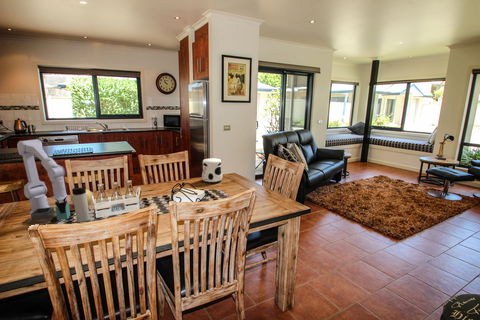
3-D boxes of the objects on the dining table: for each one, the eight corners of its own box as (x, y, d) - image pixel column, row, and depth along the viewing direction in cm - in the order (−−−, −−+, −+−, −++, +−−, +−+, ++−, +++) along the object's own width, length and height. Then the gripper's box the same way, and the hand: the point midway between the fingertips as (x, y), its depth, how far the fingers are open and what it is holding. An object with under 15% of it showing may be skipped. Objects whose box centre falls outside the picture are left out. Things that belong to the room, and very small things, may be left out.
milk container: (198, 180, 216) (197, 160, 212) (214, 176, 228) (214, 157, 224) (210, 185, 204) (209, 163, 200) (226, 181, 216) (226, 160, 211)
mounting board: (37, 214, 151) (37, 212, 151) (59, 212, 154) (58, 210, 154) (26, 224, 139) (26, 222, 139) (50, 221, 142) (50, 219, 142)
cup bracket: (37, 213, 150) (36, 208, 149) (56, 211, 152) (55, 206, 151) (29, 220, 141) (28, 215, 140) (49, 218, 143) (48, 213, 143)
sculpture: (76, 201, 170) (74, 186, 168) (96, 200, 173) (94, 185, 170) (69, 208, 159) (66, 192, 157) (90, 207, 162) (87, 191, 159)
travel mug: (76, 224, 139) (70, 190, 134) (78, 219, 145) (72, 186, 140) (89, 222, 141) (84, 188, 137) (90, 217, 147) (86, 184, 143)
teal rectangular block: (60, 216, 149) (58, 203, 147) (70, 215, 150) (68, 202, 148) (57, 220, 144) (55, 207, 142) (67, 219, 145) (65, 206, 144)
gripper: (50, 186, 146) (54, 208, 149) (50, 193, 135) (54, 217, 138) (65, 183, 150) (68, 205, 153) (66, 190, 139) (69, 213, 142)
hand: (62, 210), depth 146 cm, fingers open, 7 cm apart
